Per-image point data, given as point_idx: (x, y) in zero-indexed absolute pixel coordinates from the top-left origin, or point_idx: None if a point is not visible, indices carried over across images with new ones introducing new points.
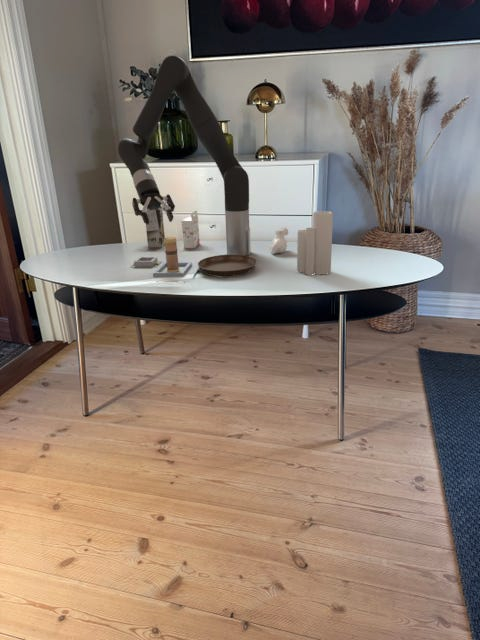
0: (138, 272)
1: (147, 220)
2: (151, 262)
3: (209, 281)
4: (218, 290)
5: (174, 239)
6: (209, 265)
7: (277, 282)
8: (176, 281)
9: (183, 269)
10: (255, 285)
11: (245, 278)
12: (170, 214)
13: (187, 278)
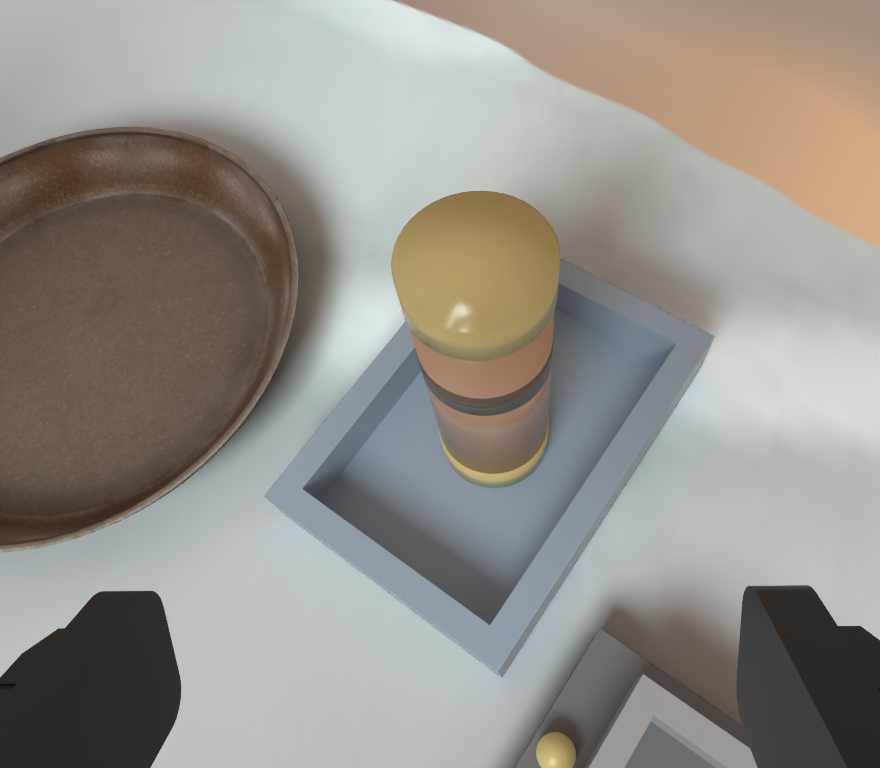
0: None
1: (804, 590)
2: (650, 679)
3: (348, 172)
4: (392, 23)
5: (440, 204)
6: (128, 496)
7: (73, 16)
8: None
9: None
10: (189, 18)
11: None
12: (57, 658)
13: None
